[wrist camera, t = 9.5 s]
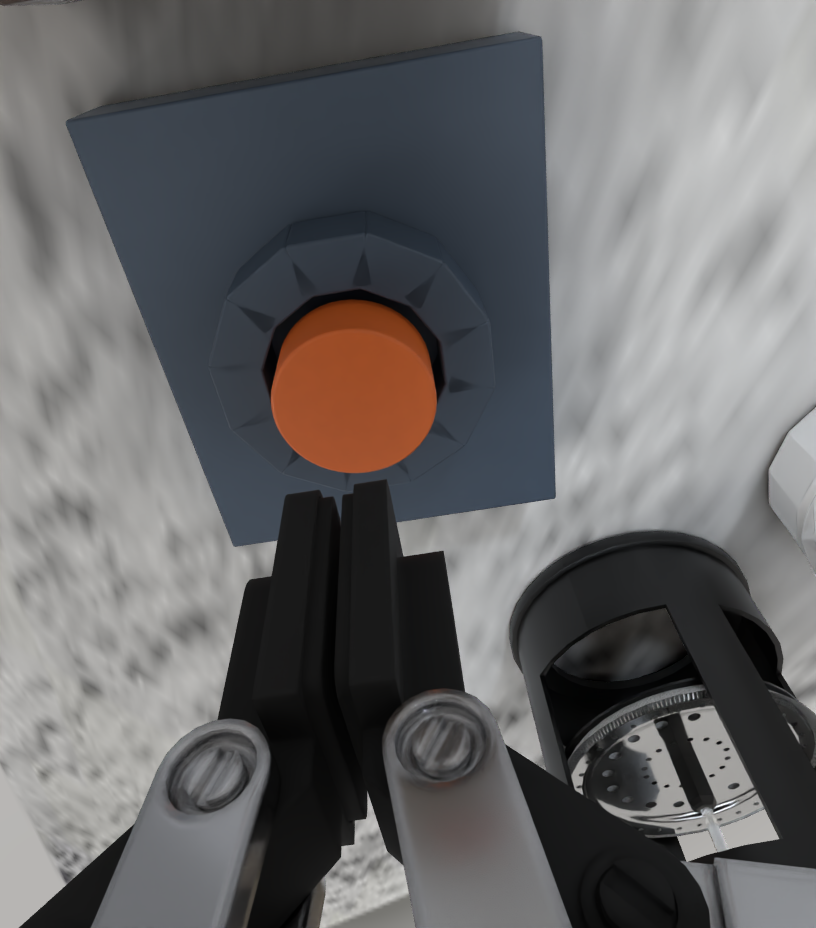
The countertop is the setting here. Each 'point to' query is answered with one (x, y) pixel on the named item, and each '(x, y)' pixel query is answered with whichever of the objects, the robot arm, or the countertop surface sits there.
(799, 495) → the white cup
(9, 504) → the countertop surface
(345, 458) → the release button
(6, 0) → the panel
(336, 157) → the button block
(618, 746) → the french press
